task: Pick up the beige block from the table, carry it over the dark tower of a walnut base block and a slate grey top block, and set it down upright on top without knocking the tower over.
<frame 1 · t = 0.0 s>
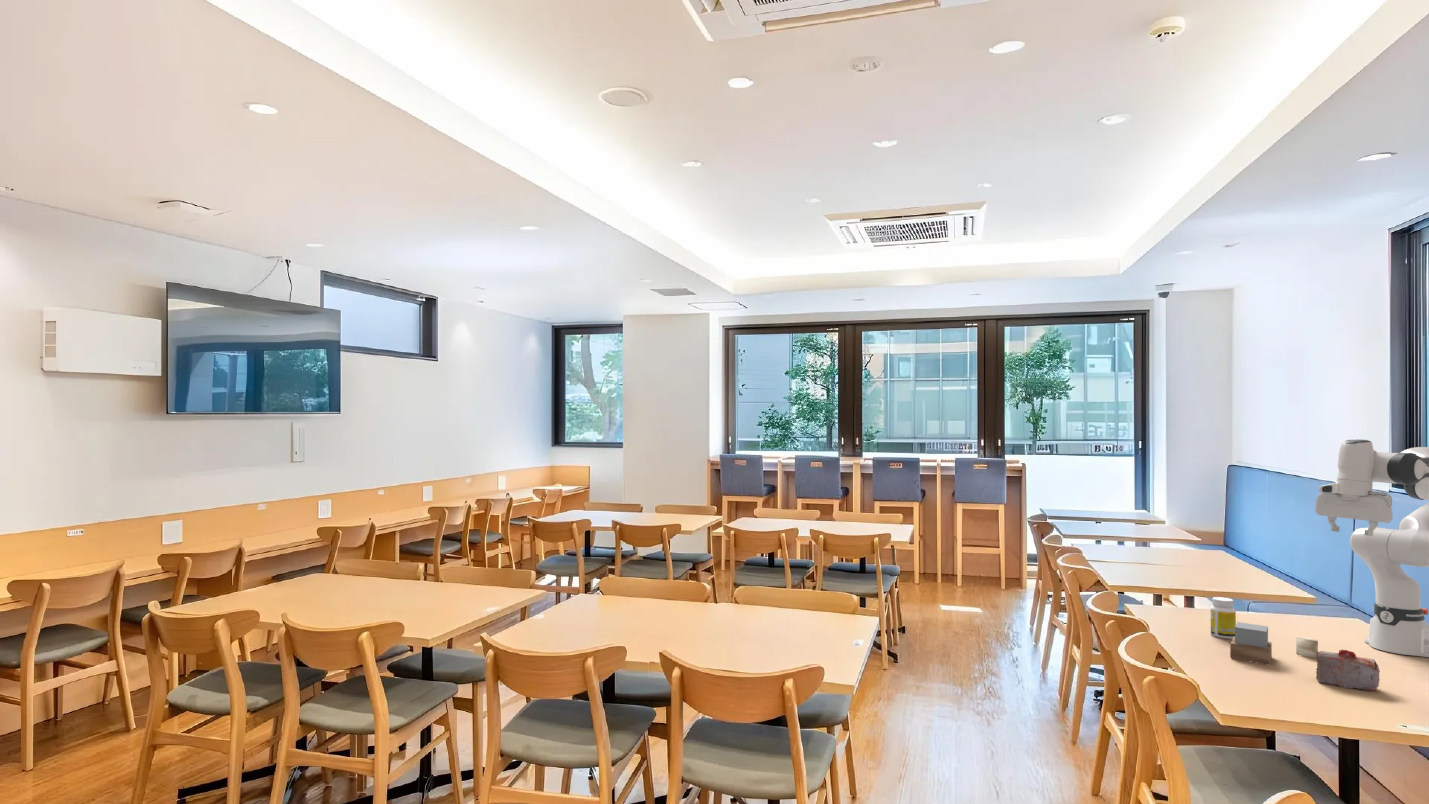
hand: (1351, 533, 246), 39 cm above the table, tool pointing down, fingers open, 8 cm apart
supplement bottle: (1223, 637, 267), on the table
food item: (1347, 686, 219), on the table
walnut base block: (1251, 658, 243), on the table, touching slate grey top block
beige block: (1307, 655, 247), on the table
slate grey top block: (1251, 642, 243), point 5 cm above the table, touching walnut base block
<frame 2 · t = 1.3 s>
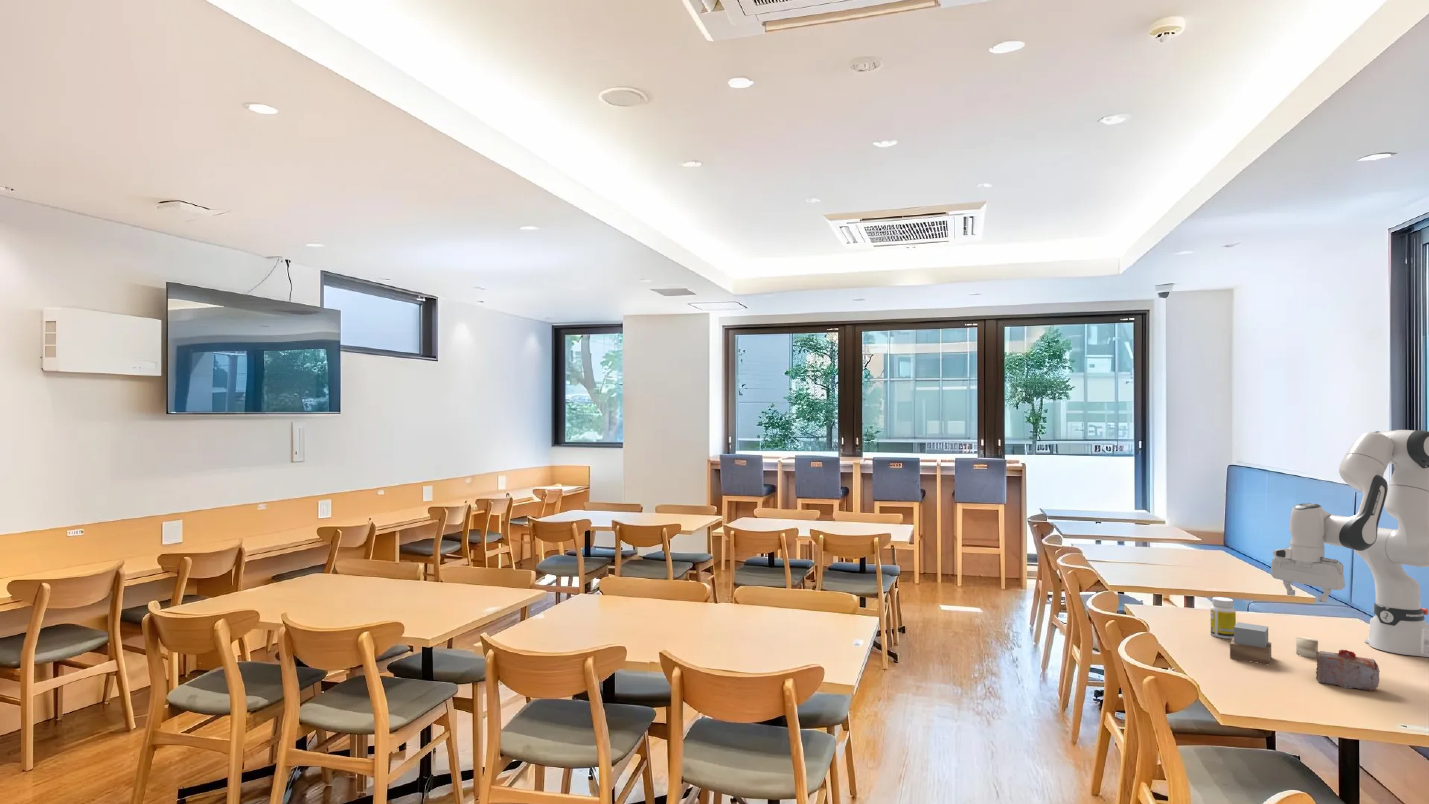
hand: (1306, 598, 247), 18 cm above the table, tool pointing down, fingers open, 8 cm apart
nothing on the table moved.
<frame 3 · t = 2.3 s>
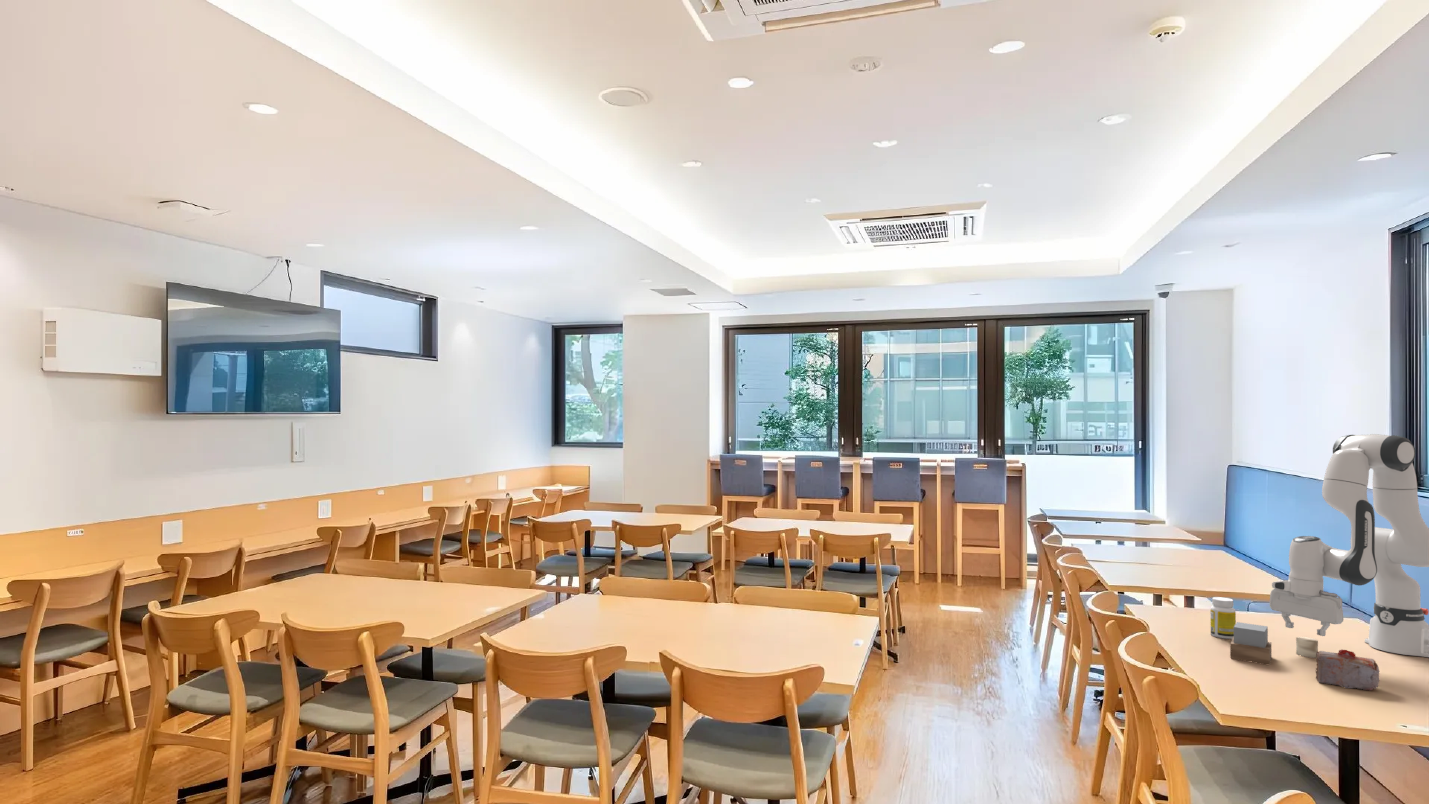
hand: (1305, 631, 247), 7 cm above the table, tool pointing down, fingers open, 8 cm apart
nothing on the table moved.
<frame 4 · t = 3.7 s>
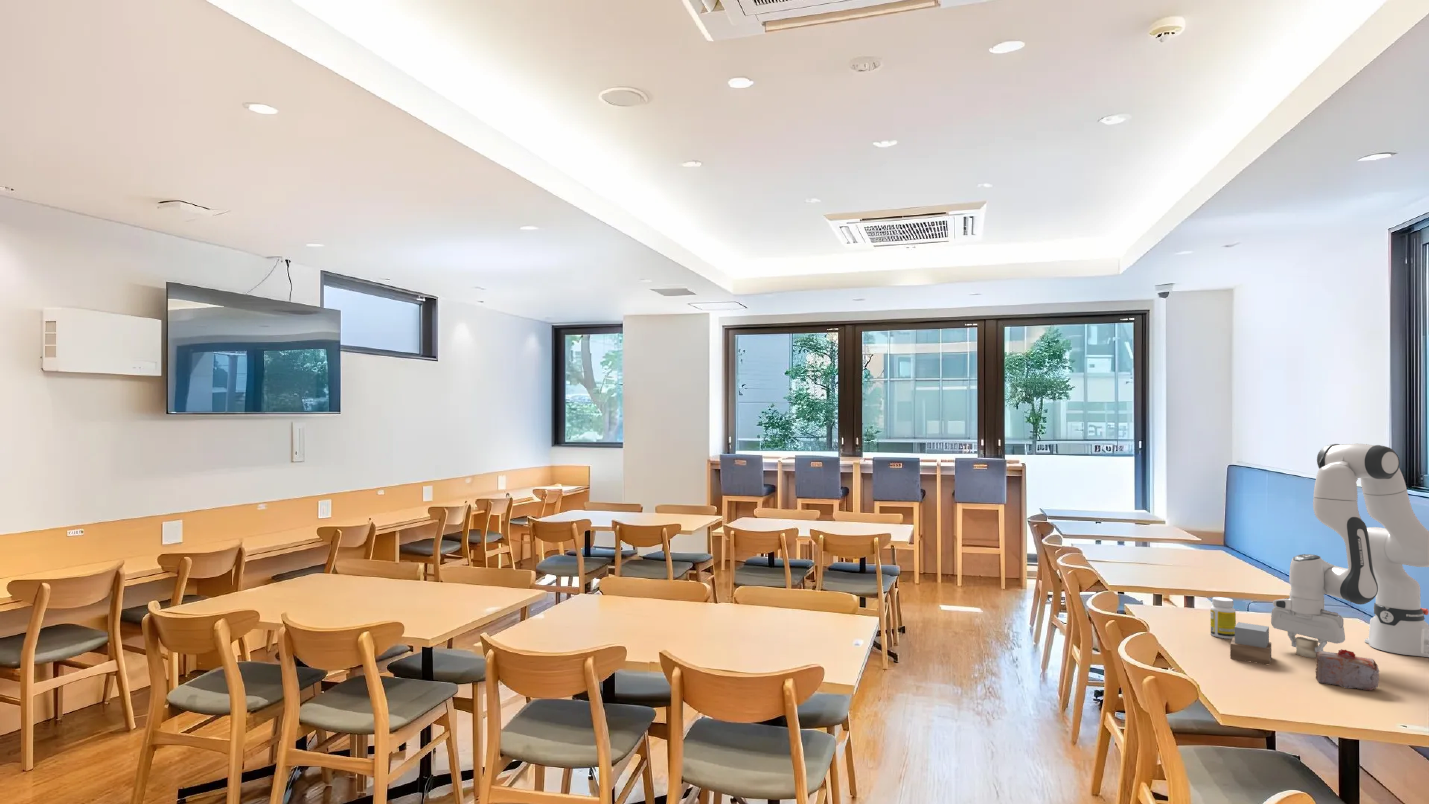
hand: (1307, 650, 247), 2 cm above the table, tool pointing down, fingers closed on beige block, 5 cm apart
walnut base block: (1250, 659, 243), on the table
beige block: (1307, 655, 247), on the table, touching gripper
slate grey top block: (1251, 642, 243), point 5 cm above the table
everything else where it was.
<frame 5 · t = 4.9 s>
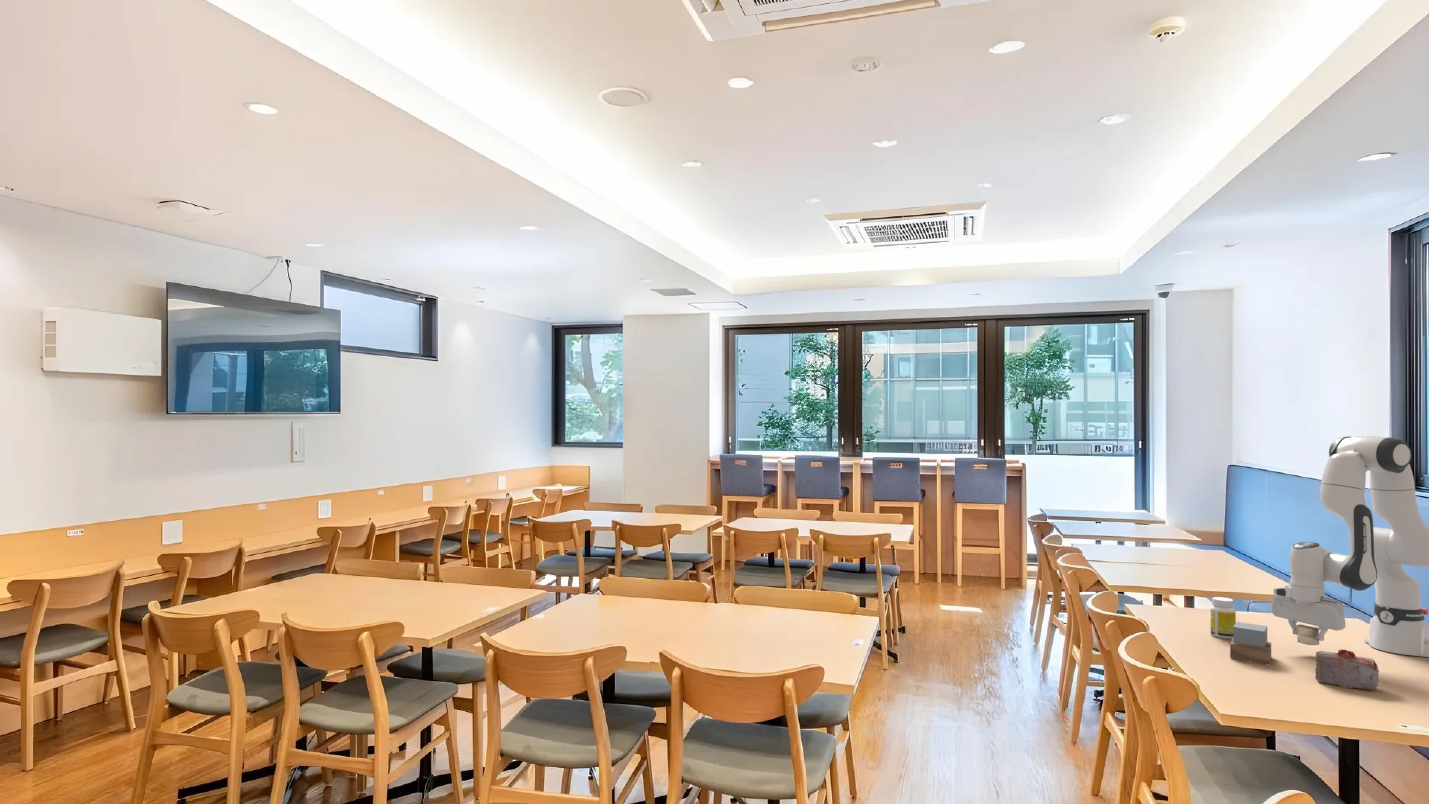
hand: (1308, 637, 247), 5 cm above the table, tool pointing down, fingers closed on beige block, 5 cm apart
walnut base block: (1250, 659, 243), on the table, touching slate grey top block
beige block: (1308, 642, 247), point 4 cm above the table, touching gripper
slate grey top block: (1250, 642, 244), point 5 cm above the table, touching walnut base block
everything else where it was.
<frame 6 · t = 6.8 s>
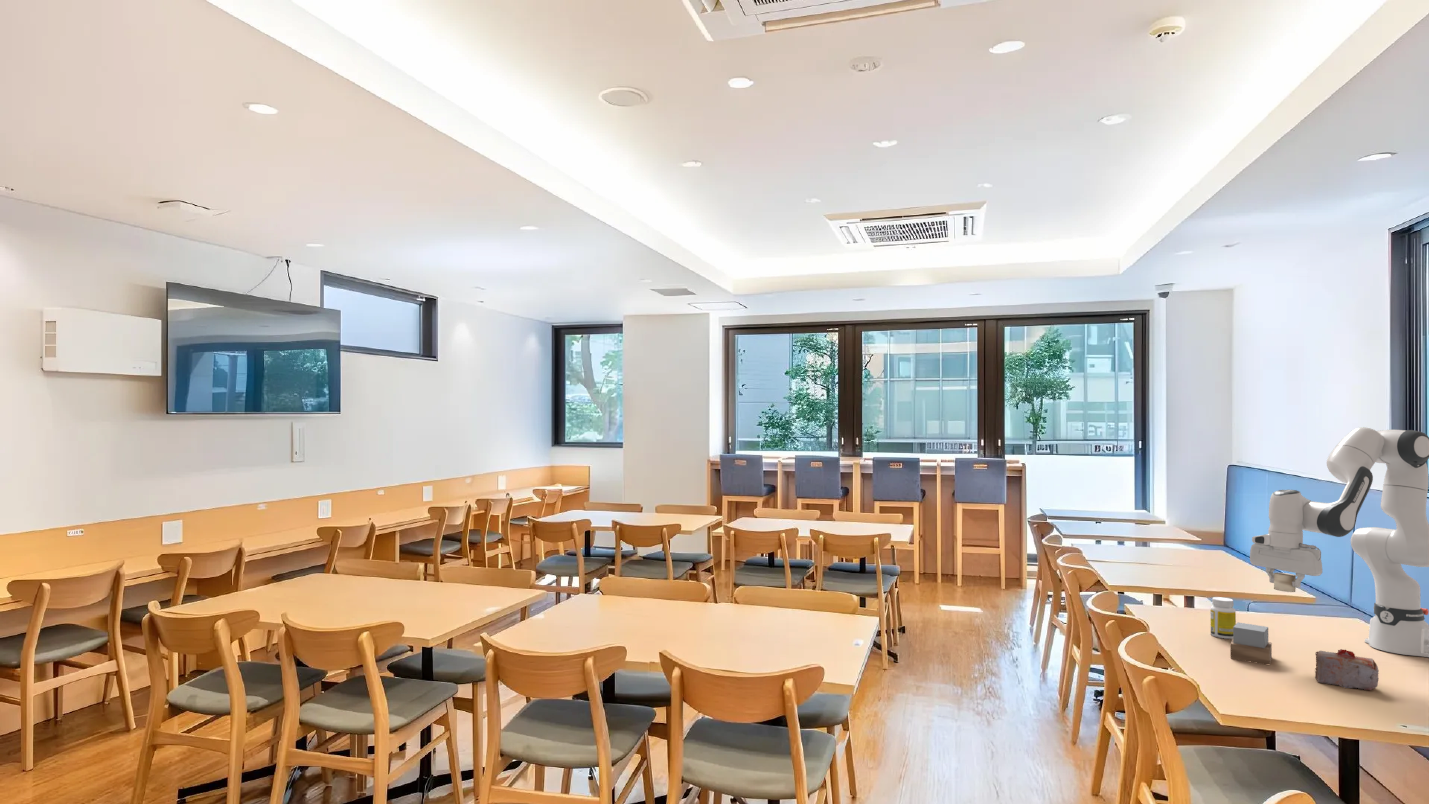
hand: (1284, 585, 246), 22 cm above the table, tool pointing down, fingers closed on beige block, 5 cm apart
walnut base block: (1251, 659, 243), on the table
beige block: (1284, 590, 246), point 21 cm above the table, touching gripper
slate grey top block: (1250, 643, 243), point 5 cm above the table
everything else where it was.
when the fingers open (13 cm above the table, at t = 10.0 s): beige block drops 2 cm, resting on slate grey top block.
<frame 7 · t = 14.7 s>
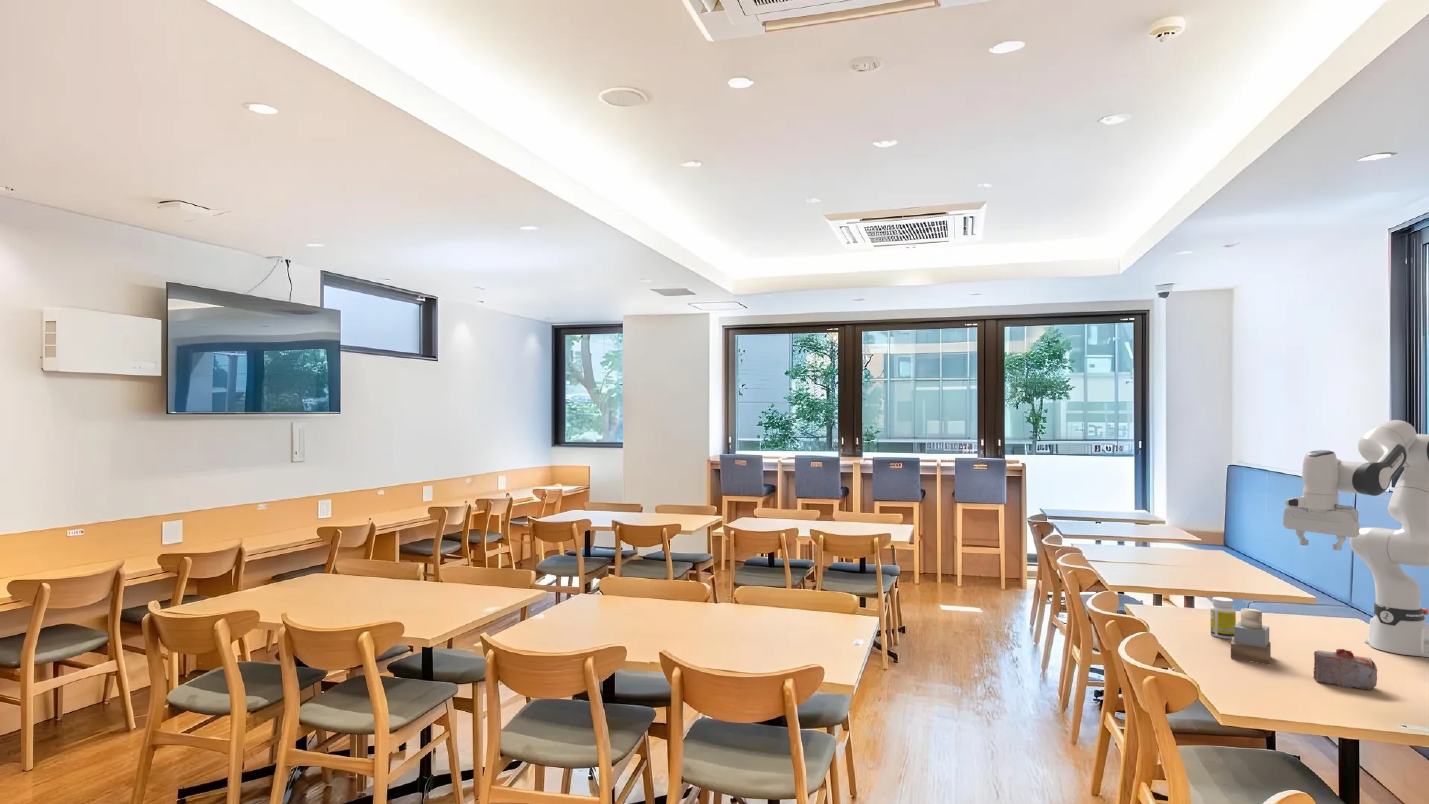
hand: (1320, 547, 241), 35 cm above the table, tool pointing down, fingers open, 8 cm apart
walnut base block: (1250, 658, 243), on the table, touching slate grey top block
beige block: (1251, 626, 244), point 10 cm above the table, touching slate grey top block
slate grey top block: (1251, 642, 243), point 5 cm above the table, touching beige block, walnut base block
everything else where it was.
at the end: beige block 0.3 cm off-centre on the slate grey top block, point 5.0 cm above the slate grey top block's base; slate grey top block 0.2 cm off-centre on the walnut base block, point 5.0 cm above the walnut base block's base; beige block tilted 0° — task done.
